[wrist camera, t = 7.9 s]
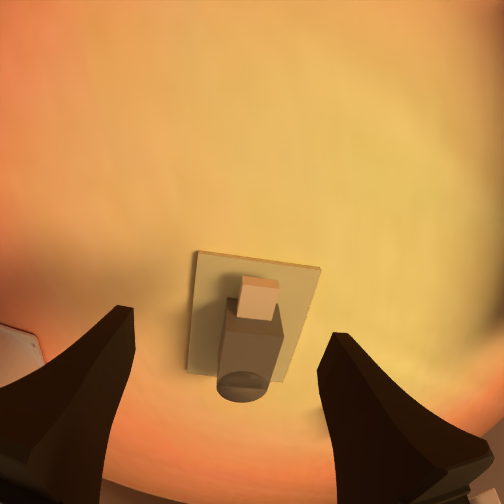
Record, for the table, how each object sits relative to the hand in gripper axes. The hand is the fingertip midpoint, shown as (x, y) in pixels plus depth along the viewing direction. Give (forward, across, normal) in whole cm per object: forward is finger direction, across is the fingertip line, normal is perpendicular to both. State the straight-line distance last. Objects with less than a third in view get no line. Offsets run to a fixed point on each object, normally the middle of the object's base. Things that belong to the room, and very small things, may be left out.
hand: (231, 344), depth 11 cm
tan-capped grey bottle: (+10, -2, +7) cm, 12 cm away
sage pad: (+10, -2, +7) cm, 12 cm away
